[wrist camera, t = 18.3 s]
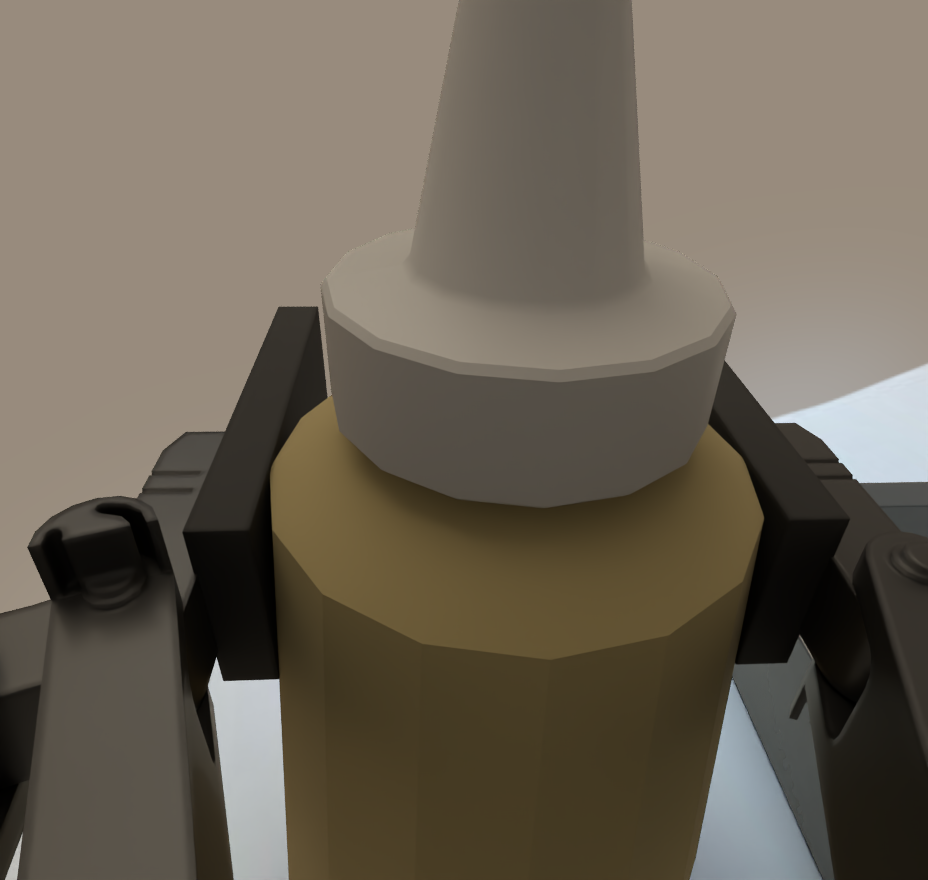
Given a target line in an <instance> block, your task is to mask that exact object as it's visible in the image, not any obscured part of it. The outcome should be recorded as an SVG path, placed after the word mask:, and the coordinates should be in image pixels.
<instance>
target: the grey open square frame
mask: <svg viewBox="0 0 928 880" xmlns="http://www.w3.org/2000/svg"><path fill="white" fill-rule="evenodd" d="M860 484H861V486H862V487H863V488H864V489H865V490H866V491H867V492H868V494H869V495H870V496H871V497H872V498H873V499H874V500H875V502H876V503H877V504H878V505H879V506H880V507H881V509H882V510H883V511H884V512H885V513H886V514H887V515H888V517H889V518H890V519H891V520H892V521H893V522H894V523H895V525H896V526H897V527H898V528H899V529H900V530H901V532H910V533H914V534H917V535H921V536H924V537H928V482H898V483H860ZM812 659H813V657H812V655H811V653H810V652H809V650H808V648H807V646H806V645H805V643H804V641H803V639H802V638H801V636H800V635H799V637H798V640H797V642H796V644H795V647H794V649H793V651H792V653H791V656H790V658H789V660H788V662H787V663H775V664H742V665H736V664H735V665H734V670H733V675H732V677H733V679H734V681H735V683H736V686H737V688H738V690H739V692H740V695H741V697H742V699H743V701H744V703H745V706H746V708H747V710H748V712H749V715H750V717H751V719H752V721H753V724H754V726H755V728H756V730H757V733H758V735H759V737H760V739H761V741H762V744H763V746H764V748H765V750H766V753H767V755H768V757H769V759H770V762H771V764H772V766H773V768H774V770H775V773H776V775H777V777H778V779H779V782H780V784H781V786H782V788H783V791H784V793H785V795H786V797H787V800H788V802H789V804H790V806H791V808H792V811H793V813H794V815H795V817H796V820H797V822H798V824H799V826H800V829H801V831H802V833H803V835H804V837H805V840H806V842H807V844H808V846H809V849H810V851H811V853H812V855H813V858H814V860H815V862H816V864H817V867H818V869H819V871H820V873H821V875H822V878H823V880H834V873H833V867H832V860H831V854H830V847H829V841H828V834H827V828H826V821H825V815H824V808H823V802H822V795H821V788H820V782H819V775H818V769H817V762H816V756H815V749H814V743H813V736H812V730H811V723H809V720H810V717H809V710H808V703H807V702H806V703H805V705H804V707H803V709H802V711H801V713H800V715H799V717H798V720H794V719H790V718H789V714H790V706H791V703H792V701H793V699H794V697H795V695H796V693H797V691H798V688H799V686H800V684H801V682H802V680H803V678H804V676H805V674H806V671H807V669H808V667H809V665H810V663H811V661H812Z"/></svg>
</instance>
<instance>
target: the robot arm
mask: <svg viewBox="0 0 928 880" xmlns="http://www.w3.org/2000/svg"><path fill="white" fill-rule="evenodd" d="M326 399H327V390H326V380H325V370H324V360H323V350H322V341H321V331H320V322H319V312H318V307H278V310H277V312H276V314H275V317H274V319H273V321H272V324H271V326H270V328H269V331H268V333H267V335H266V338H265V340H264V342H263V345H262V347H261V349H260V352H259V354H258V356H257V359H256V361H255V363H254V366H253V368H252V370H251V373H250V375H249V377H248V379H247V382H246V384H245V387H244V389H243V391H242V394H241V396H240V398H239V400H238V403H237V405H236V408H235V410H234V412H233V414H232V417H231V419H230V421H229V424H228V426H227V428H226V431H225V432H185V433H184V434H183V435H182V436H180V437H179V438H178V439H177V440H175V441H174V442H173V443H172V444H171V445H169V446H168V447H167V448H165V449H164V450H163V452H162V453H161V455H160V457H159V459H158V461H157V463H156V465H155V466H154V468H153V470H152V476H149V477H148V479H147V481H146V483H145V485H144V486H143V488H142V493H140V494H139V496H138V498H137V499H136V498H129V497H123V496H115V497H104V498H96V499H92V500H89V501H86V502H83V503H80V504H76V505H73V506H71V507H69V508H67V509H65V510H64V511H62V512H60V513H58V514H56V515H54V516H52V517H51V518H50V519H49V520H48V521H46V522H45V523H44V524H43V525H42V526H41V527H40V528H39V529H38V530H37V531H35V533H34V535H33V538H32V539H31V541H30V543H29V545H28V547H27V548H28V550H29V552H30V554H31V557H32V559H33V561H34V563H35V565H36V568H37V570H38V572H39V574H40V577H41V579H42V581H43V583H44V585H45V587H46V590H47V592H48V594H49V596H50V599H51V600H47V601H45V602H41V603H38V604H35V605H32V606H28V607H24V608H20V609H16V610H12V611H8V612H4V613H0V880H5V878H6V875H7V872H8V870H9V867H10V864H11V862H12V859H13V856H14V854H15V851H16V848H17V846H18V843H19V841H20V838H21V835H22V833H23V836H22V845H21V853H20V861H19V869H18V877H17V880H234V879H233V870H232V861H231V853H230V844H229V835H228V827H227V818H226V809H225V801H224V792H223V783H222V775H221V766H220V757H219V749H218V740H217V731H216V723H215V714H214V705H213V702H212V699H211V695H210V692H209V689H208V683H209V680H210V677H211V673H212V670H213V667H214V663H215V660H216V657H217V660H218V663H219V667H220V670H221V674H222V678H223V681H236V680H267V679H279V677H280V676H279V661H278V640H277V619H276V598H275V577H274V556H273V535H272V512H271V489H270V471H271V466H272V464H273V462H274V460H275V458H276V457H277V455H278V454H279V452H280V451H281V449H282V447H283V446H284V444H285V443H286V441H287V439H288V438H289V436H290V435H291V433H292V432H293V430H294V428H295V427H296V425H297V424H298V422H299V421H300V419H301V418H302V417H303V416H304V415H306V414H307V413H308V412H310V411H311V410H312V409H314V408H315V407H316V406H318V405H319V404H320V403H322V402H323V401H324V400H326ZM708 424H709V425H710V426H711V427H712V428H713V429H714V430H715V431H716V432H717V433H718V434H719V435H720V436H721V437H722V438H723V439H724V440H725V441H726V442H727V443H728V444H729V445H730V446H731V447H732V448H733V449H734V450H735V451H736V452H737V453H738V454H739V455H740V456H741V457H742V458H743V460H744V462H745V464H746V466H747V469H748V472H749V475H750V478H751V481H752V484H753V486H754V489H755V492H756V495H757V498H758V501H759V504H760V507H761V509H762V512H763V515H764V522H763V527H762V532H761V537H760V542H759V547H758V551H757V556H756V561H755V566H754V571H753V576H752V581H751V586H750V591H749V596H748V601H747V606H746V611H745V616H744V621H743V626H742V630H741V635H740V640H739V645H738V650H737V654H736V659H735V664H736V665H742V664H775V663H787V662H788V660H789V658H790V656H791V653H792V651H793V649H794V647H795V644H796V642H797V640H798V637H799V635H800V636H801V638H802V639H803V641H804V643H805V645H806V646H807V648H808V650H809V652H810V653H811V655H812V657H813V659H812V661H811V663H810V665H809V667H808V669H807V671H806V674H805V676H804V678H803V680H802V682H801V684H800V686H799V688H798V691H797V693H796V695H795V697H794V699H793V701H792V703H791V706H790V714H789V718H790V719H794V720H798V717H799V715H800V713H801V711H802V709H803V707H804V705H805V703H806V702H807V703H808V710H809V717H810V720H809V723H811V730H812V736H813V743H814V749H815V756H816V762H817V769H818V775H819V782H820V788H821V795H822V802H823V808H824V815H825V821H826V828H827V834H828V841H829V847H830V854H831V860H832V867H833V873H834V880H928V537H924V536H921V535H917V534H914V533H910V532H901V530H900V529H899V528H898V527H897V526H896V525H895V523H894V522H893V521H892V520H891V519H890V518H889V517H888V515H887V514H886V513H885V512H884V511H883V510H882V509H881V507H880V506H879V505H878V504H877V503H876V502H875V500H874V499H873V498H872V497H871V496H870V495H869V494H868V492H867V491H866V490H865V489H864V488H863V487H862V486H861V484H860V483H859V482H858V481H857V480H856V479H852V476H853V475H852V474H851V473H850V472H849V471H848V469H847V468H846V467H845V466H844V465H843V464H842V463H839V462H838V460H839V459H838V458H837V457H836V456H835V454H834V453H833V452H832V451H831V450H830V449H829V448H828V446H827V445H826V444H825V443H824V442H823V441H822V440H821V439H820V438H818V437H817V436H815V435H813V434H812V433H810V432H809V431H807V430H805V429H804V428H802V427H801V426H799V425H798V424H796V423H774V422H773V421H772V419H771V418H770V417H769V416H768V415H767V413H766V412H765V411H764V409H763V408H762V407H761V406H760V404H759V403H758V402H757V401H756V399H755V398H754V397H753V395H752V394H751V393H750V392H749V390H748V389H747V388H746V387H745V385H744V384H743V383H742V382H741V380H740V379H739V378H738V377H737V375H736V374H735V373H734V372H733V371H732V369H731V368H730V367H729V365H728V364H727V363H726V362H725V360H724V364H723V368H722V372H721V375H720V379H719V383H718V387H717V391H716V395H715V399H714V402H713V406H712V410H711V414H710V418H709V422H708Z"/></svg>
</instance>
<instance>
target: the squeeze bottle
mask: <svg viewBox="0 0 928 880" xmlns="http://www.w3.org/2000/svg"><path fill="white" fill-rule="evenodd" d="M632 19H633V18H632V0H459V3H458V8H457V13H456V18H455V23H454V29H453V34H452V39H451V44H450V49H449V54H448V60H447V65H446V70H445V75H444V80H443V86H442V91H441V96H440V101H439V106H438V111H437V117H436V122H435V127H434V132H433V137H432V143H431V148H430V153H429V159H428V164H427V168H426V174H425V179H424V185H423V189H422V194H421V199H420V205H419V210H418V215H417V220H416V226H415V228H414V229H410V230H404V231H399V232H394V233H390V234H387V235H385V236H383V237H381V238H378V239H376V240H374V241H371V242H369V243H367V244H364V245H362V246H360V247H358V248H355V249H353V250H351V251H348V252H347V253H346V255H345V256H344V257H343V258H342V259H341V260H340V262H339V263H338V264H337V265H336V266H335V268H334V269H333V270H332V271H331V272H330V273H329V275H328V276H327V277H326V278H325V279H324V281H323V282H322V283H321V292H322V293H321V294H322V304H323V313H324V323H325V333H326V343H327V353H328V362H329V372H330V382H331V392H332V395H331V396H330V397H328V398H327V399H326V400H324V401H323V402H322V403H320V404H319V405H318V406H316V407H315V408H314V409H312V410H311V411H310V412H308V413H307V414H306V415H304V416H303V417H302V418H301V419H300V421H299V422H298V424H297V425H296V427H295V428H294V430H293V432H292V433H291V435H290V436H289V438H288V439H287V441H286V443H285V444H284V446H283V447H282V449H281V451H280V452H279V454H278V455H277V457H276V458H275V460H274V462H273V464H272V466H271V471H270V489H271V512H272V535H273V556H274V577H275V598H276V619H277V640H278V661H279V676H280V677H279V682H280V703H281V724H282V745H283V765H284V786H285V807H286V828H287V849H288V870H289V880H689V879H690V875H691V872H692V868H693V865H694V861H695V858H696V853H697V848H698V843H699V838H700V833H701V828H702V823H703V818H704V813H705V808H706V803H707V798H708V793H709V788H710V783H711V779H712V774H713V769H714V764H715V759H716V754H717V749H718V744H719V739H720V734H721V729H722V724H723V719H724V714H725V709H726V705H727V700H728V695H729V690H730V685H731V680H732V675H733V670H734V665H735V659H736V654H737V650H738V645H739V640H740V635H741V630H742V626H743V621H744V616H745V611H746V606H747V601H748V596H749V591H750V586H751V581H752V576H753V571H754V566H755V561H756V556H757V551H758V547H759V542H760V537H761V532H762V527H763V522H764V515H763V512H762V509H761V507H760V504H759V501H758V498H757V495H756V492H755V489H754V486H753V484H752V481H751V478H750V475H749V472H748V469H747V466H746V464H745V462H744V460H743V458H742V457H741V456H740V455H739V454H738V453H737V452H736V451H735V450H734V449H733V448H732V447H731V446H730V445H729V444H728V443H727V442H726V441H725V440H724V439H723V438H722V437H721V436H720V435H719V434H718V433H717V432H716V431H715V430H714V429H713V428H712V427H711V426H710V425H709V424H708V422H709V418H710V414H711V410H712V406H713V402H714V399H715V395H716V391H717V387H718V383H719V379H720V375H721V372H722V368H723V364H724V360H725V356H726V352H727V348H728V345H729V341H730V337H731V333H732V329H733V325H734V321H735V317H736V312H735V310H734V308H733V306H732V304H731V302H730V300H729V297H728V295H727V293H726V291H725V289H724V287H723V285H722V283H721V281H720V280H719V278H718V277H717V276H716V275H715V274H713V273H712V272H710V271H708V270H707V269H705V268H704V267H702V266H701V265H699V264H698V263H696V262H694V261H693V260H691V259H690V258H688V257H687V256H685V255H683V254H682V253H680V252H678V251H676V250H673V249H670V248H667V247H664V246H661V245H658V244H655V243H652V242H649V241H646V240H643V222H642V202H641V183H640V182H641V181H640V162H639V142H638V121H637V99H636V79H635V59H634V39H633V20H632Z"/></svg>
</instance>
